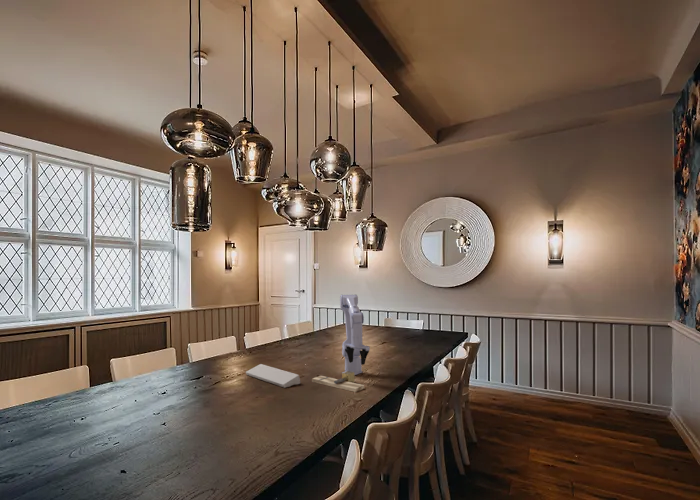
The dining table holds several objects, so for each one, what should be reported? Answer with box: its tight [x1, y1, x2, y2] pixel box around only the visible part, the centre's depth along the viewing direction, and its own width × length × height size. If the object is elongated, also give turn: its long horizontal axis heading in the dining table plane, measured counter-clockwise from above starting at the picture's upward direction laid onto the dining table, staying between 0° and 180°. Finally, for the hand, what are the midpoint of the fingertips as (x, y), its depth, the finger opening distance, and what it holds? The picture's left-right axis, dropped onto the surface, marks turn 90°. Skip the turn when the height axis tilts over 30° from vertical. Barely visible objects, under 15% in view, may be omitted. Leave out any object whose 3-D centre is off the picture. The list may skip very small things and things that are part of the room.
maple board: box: [311, 375, 365, 393], centre depth 187 cm, size 7×28×2 cm, turn 52°
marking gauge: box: [334, 371, 355, 384], centre depth 188 cm, size 12×4×5 cm, turn 142°
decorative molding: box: [245, 363, 301, 389], centre depth 198 cm, size 34×5×10 cm
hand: (357, 363), depth 192 cm, fingers open, 7 cm apart
